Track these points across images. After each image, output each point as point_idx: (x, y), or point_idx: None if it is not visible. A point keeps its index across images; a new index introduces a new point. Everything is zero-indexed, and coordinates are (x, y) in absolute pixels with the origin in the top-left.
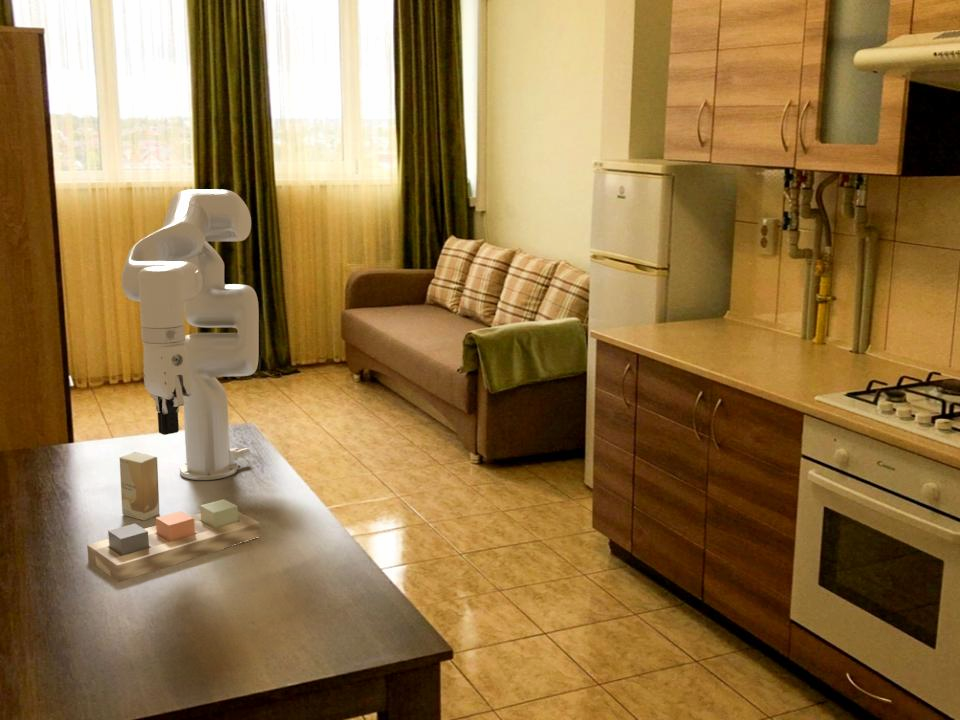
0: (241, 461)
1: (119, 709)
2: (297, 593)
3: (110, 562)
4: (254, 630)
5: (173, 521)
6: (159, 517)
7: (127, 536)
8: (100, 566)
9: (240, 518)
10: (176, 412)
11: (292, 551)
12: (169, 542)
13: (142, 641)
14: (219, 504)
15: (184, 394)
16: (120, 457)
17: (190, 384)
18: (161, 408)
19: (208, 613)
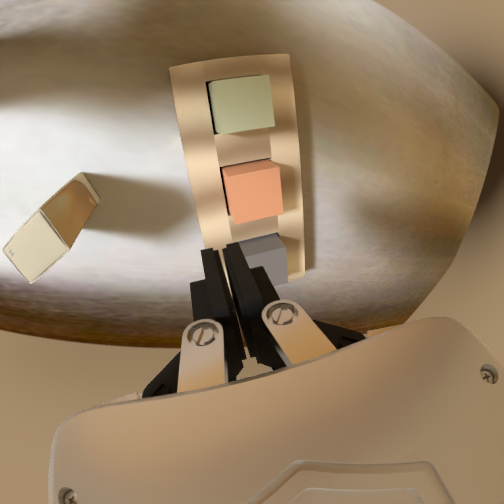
0: None
1: (436, 283)
2: (426, 121)
3: None
4: (442, 187)
5: (271, 202)
6: (238, 218)
7: (285, 274)
8: None
9: (249, 69)
10: (262, 300)
11: (348, 53)
12: None
13: (401, 262)
14: (237, 99)
15: (354, 345)
16: (30, 282)
17: (500, 370)
18: (236, 373)
19: (406, 206)
